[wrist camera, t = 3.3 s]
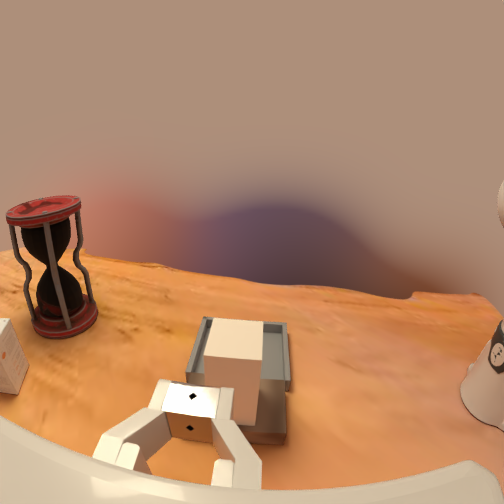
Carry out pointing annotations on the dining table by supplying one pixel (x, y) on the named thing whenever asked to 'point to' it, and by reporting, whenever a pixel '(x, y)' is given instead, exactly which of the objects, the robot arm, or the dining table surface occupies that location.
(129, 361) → the dining table surface
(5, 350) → the small box
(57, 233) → the hourglass
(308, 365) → the dining table surface
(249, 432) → the brown flat block
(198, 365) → the gray tray
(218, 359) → the cream block
